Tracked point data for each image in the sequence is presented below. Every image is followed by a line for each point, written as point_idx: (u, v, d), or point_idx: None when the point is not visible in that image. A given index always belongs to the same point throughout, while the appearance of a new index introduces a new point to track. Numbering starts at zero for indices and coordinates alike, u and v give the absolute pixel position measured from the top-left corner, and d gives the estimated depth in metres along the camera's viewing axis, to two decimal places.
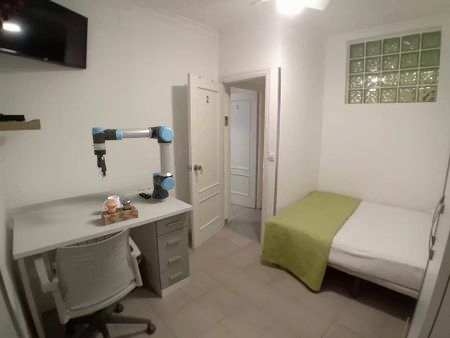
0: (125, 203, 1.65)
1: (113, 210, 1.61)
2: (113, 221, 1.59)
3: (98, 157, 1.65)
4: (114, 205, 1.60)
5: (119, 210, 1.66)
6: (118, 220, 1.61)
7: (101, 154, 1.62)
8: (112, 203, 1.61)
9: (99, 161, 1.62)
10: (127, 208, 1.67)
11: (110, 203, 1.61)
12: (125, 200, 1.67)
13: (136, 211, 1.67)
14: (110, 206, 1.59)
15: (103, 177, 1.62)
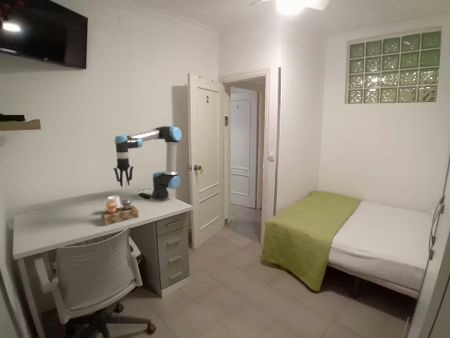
0: (125, 203, 1.65)
1: (113, 210, 1.61)
2: (113, 221, 1.59)
3: None
4: (114, 205, 1.60)
5: (119, 210, 1.66)
6: (118, 220, 1.61)
7: None
8: (112, 203, 1.61)
9: None
10: (127, 208, 1.67)
11: (110, 203, 1.61)
12: (125, 200, 1.67)
13: (136, 211, 1.67)
14: (110, 206, 1.59)
15: (122, 187, 1.65)
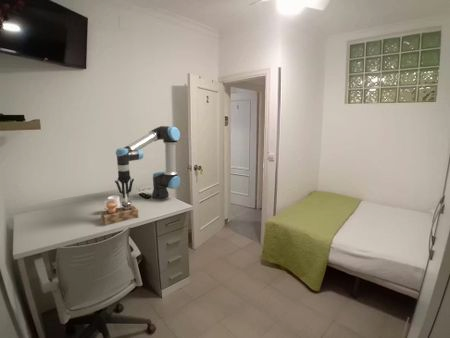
0: (125, 205, 1.65)
1: (113, 210, 1.61)
2: (113, 221, 1.59)
3: None
4: (114, 205, 1.60)
5: (119, 210, 1.66)
6: (118, 220, 1.61)
7: None
8: (112, 203, 1.61)
9: (121, 182, 1.65)
10: None
11: (110, 203, 1.61)
12: None
13: (136, 211, 1.67)
14: (110, 206, 1.59)
15: (124, 199, 1.67)
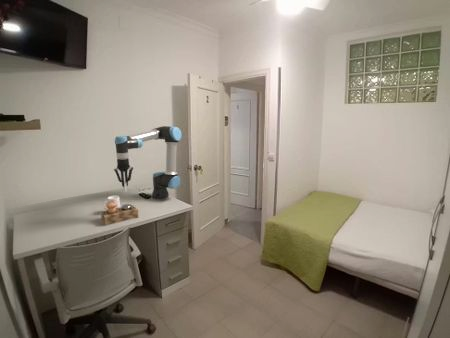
0: (125, 208, 1.66)
1: (113, 210, 1.61)
2: (113, 221, 1.59)
3: None
4: (114, 205, 1.60)
5: (119, 210, 1.66)
6: (118, 220, 1.61)
7: None
8: (112, 203, 1.61)
9: (120, 171, 1.63)
10: None
11: (110, 203, 1.61)
12: (126, 206, 1.68)
13: (136, 211, 1.67)
14: (110, 206, 1.59)
15: None
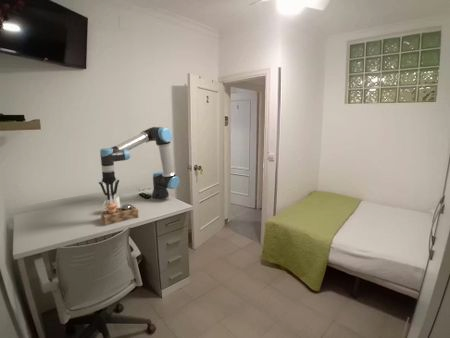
0: (125, 208, 1.66)
1: (113, 211, 1.61)
2: (113, 221, 1.59)
3: None
4: (114, 206, 1.60)
5: (119, 210, 1.66)
6: (118, 220, 1.61)
7: None
8: (112, 204, 1.61)
9: None
10: None
11: None
12: (126, 206, 1.68)
13: (136, 211, 1.67)
14: (110, 207, 1.59)
15: (109, 201, 1.61)
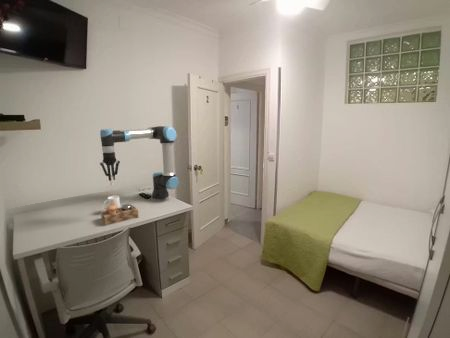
0: (125, 208, 1.66)
1: None
2: (113, 221, 1.59)
3: None
4: (114, 208, 1.61)
5: (119, 210, 1.66)
6: (118, 220, 1.61)
7: None
8: (112, 206, 1.62)
9: None
10: None
11: (110, 206, 1.62)
12: (126, 206, 1.68)
13: (136, 211, 1.67)
14: (110, 209, 1.59)
15: None
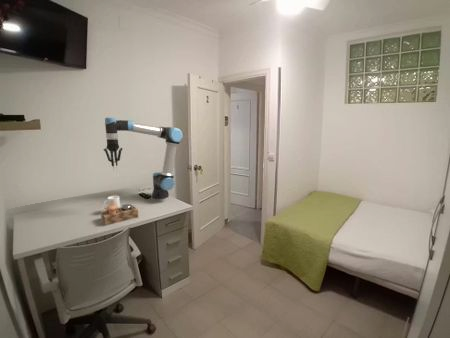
0: (125, 208, 1.66)
1: None
2: (113, 221, 1.59)
3: None
4: (114, 208, 1.61)
5: (119, 210, 1.66)
6: (118, 220, 1.61)
7: None
8: (112, 206, 1.62)
9: (110, 151, 1.71)
10: None
11: (110, 206, 1.62)
12: (126, 206, 1.68)
13: (136, 211, 1.67)
14: (110, 209, 1.59)
15: (113, 167, 1.74)
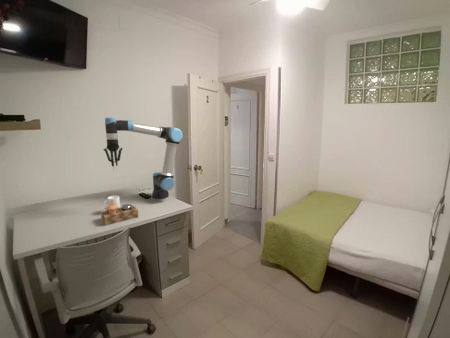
0: (125, 208, 1.66)
1: None
2: (113, 221, 1.59)
3: None
4: (114, 208, 1.61)
5: (119, 210, 1.66)
6: (118, 220, 1.61)
7: None
8: (112, 206, 1.62)
9: (110, 151, 1.71)
10: None
11: (110, 206, 1.62)
12: (126, 206, 1.68)
13: (136, 211, 1.67)
14: (110, 209, 1.59)
15: (113, 167, 1.74)
